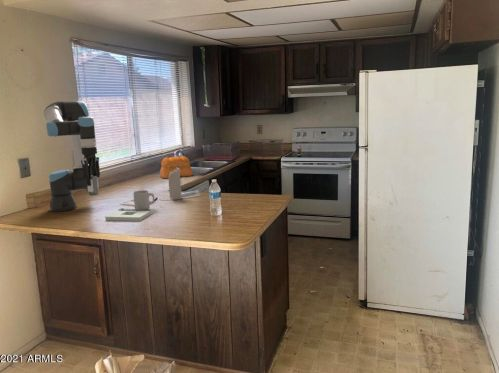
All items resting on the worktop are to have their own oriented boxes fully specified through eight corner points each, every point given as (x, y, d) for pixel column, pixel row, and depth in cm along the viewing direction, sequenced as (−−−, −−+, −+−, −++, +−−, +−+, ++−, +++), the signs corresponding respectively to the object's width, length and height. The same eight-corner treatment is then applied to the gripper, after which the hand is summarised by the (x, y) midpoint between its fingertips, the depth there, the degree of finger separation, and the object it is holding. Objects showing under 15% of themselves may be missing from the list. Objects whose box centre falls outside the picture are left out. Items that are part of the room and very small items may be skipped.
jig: (105, 220, 229) (105, 215, 228) (119, 212, 244) (119, 207, 243) (140, 221, 225) (139, 215, 224) (152, 213, 240) (152, 208, 240)
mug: (137, 212, 243) (135, 193, 241) (133, 209, 250) (131, 191, 248) (157, 209, 249) (156, 191, 247) (152, 206, 256) (151, 188, 254)
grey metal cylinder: (87, 195, 224) (85, 176, 222) (92, 193, 229) (90, 175, 227) (95, 195, 223) (93, 176, 221) (100, 193, 228) (98, 175, 226)
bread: (193, 176, 361) (192, 156, 357) (163, 179, 350) (162, 158, 347) (188, 173, 375) (187, 154, 371) (159, 176, 364) (157, 156, 361)
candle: (159, 198, 277) (157, 168, 273) (180, 196, 281) (178, 166, 277) (160, 201, 270) (158, 170, 266) (182, 199, 274) (180, 168, 270)
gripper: (85, 148, 212) (90, 194, 216) (104, 144, 229) (108, 187, 233) (72, 148, 213) (77, 194, 218) (91, 145, 230) (96, 187, 235)
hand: (93, 190), depth 225 cm, fingers closed on grey metal cylinder, 5 cm apart
